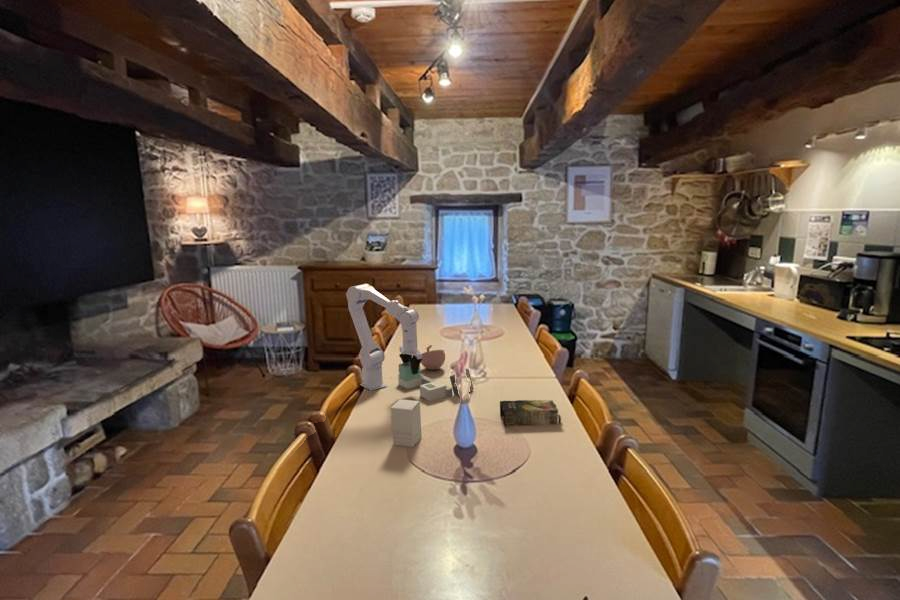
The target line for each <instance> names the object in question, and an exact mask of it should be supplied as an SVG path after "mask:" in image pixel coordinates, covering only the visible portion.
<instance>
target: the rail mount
mask: <svg viewBox="0 0 900 600" xmlns="http://www.w3.org/2000/svg"><path fill="white" fill-rule="evenodd" d="M420 374H421V377H420V378H417V379H414V380H410V381H407V382H405V381H403V380H401V379H400V377H399V374H397V380H398V381H397V382H398V386H400V387H402V388H405V389H406V390H409V389H413V388H416V387H419V396H420V397H421V398H423V399H425V400H426V401H428V402H432V401H435V400H439V399H442V398H445V397H447V398H449V397H452V396H453V388H452V387H450V386H448V385H446V384H444V383H442V382H441V381H440V382H439V381H437V380H435V379H433V378H431V377H428V376H425V375H424V374H422V373H420Z"/></svg>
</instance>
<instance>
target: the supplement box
mask: <svg viewBox="0 0 900 600" xmlns="http://www.w3.org/2000/svg"><path fill="white" fill-rule="evenodd" d="M390 415H391V416H390V417H391V431H392V432H391V435H392V445H396V446H404V447H410V448H414V447H415V444H416V445H417V443H419V441H420V440H421V439H420V438H422V437H423V436H422V419H421V416H422V415H421V401H420V400H413V399H412V400H411V399H401V398H400V399H399V400H398V401H396V402H395V403H394V404H393V405H392V406H391V407H390ZM419 439H420V440H419Z"/></svg>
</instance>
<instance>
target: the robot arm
mask: <svg viewBox="0 0 900 600" xmlns="http://www.w3.org/2000/svg"><path fill="white" fill-rule="evenodd" d="M345 296H346V300H347V305H348V311H349V314H350V316H351V319H352V322H353V325H354V328H355V331H356V333H357V336H358V339H359V342H360V344H361V348H360V351H359V356H360V364H361V366H362V368H361V381H362V382H361V383H360V386H362V387H363V388H365V389H366V388H367V389H366V390H368V389H369V390H368V391H375V390H379V389H383V388H385V387H387V386H388V385H387V384H385V383H383V382H384V381H383V366H382V365H383V362H384V360H385V358H386V355H385V352H384V351H383V350H382V349H381V346H380V344H378V343H377V342H375V340H374V337H373V334H372V331H371V328H370V326H369V323H368V320H367V317H366V315H365V311H364V309H363V308H364V305H365V304H366V302H367V301H368V300H370V301H372V302H374V303H376V304H378V305H379V306H381V307H384V308H385V310H386V313H388V314H389V315H390V316H392V317H394V318H395V319H397V320H398V322H399V324H400V325H401V330H402V346H399V352H400V354H399V355H398V356H399V358H400V359H401V361H402V363H406V362H410V364H411V369H412V374H413V375H414V374H418V369H419V365H420V366H421V361H422V359H423V357H422V353H421V352H420V350H419V349H418V335H417V334H418V332H417V331H418V329H417V322H418V321H419V319H420V318H419V317H420V316H419V312H417V310H416V309H415V308H409V307H408V306H405V305H403V304H402V303H400V301H399V300H396V299H392V300H390V299H389V298H387V297H385V296H384V295H383V294H382V293H380V292H379V291H377V290H376V289H375V287H374V286H372V285H370V284H369V283H362V284H359V285H354V286H353V285H352V286H350V287H349V288H348V289H347V291H346V293H345Z"/></svg>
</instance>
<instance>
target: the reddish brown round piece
mask: <svg viewBox="0 0 900 600" xmlns="http://www.w3.org/2000/svg"><path fill="white" fill-rule="evenodd" d="M432 346H433V345H432V344H430V345H429V346H427V347H426V351H424V352H423V353H422V357H423V359H422V361H421V363H420V365H422V366H423V367H424V368H425V369H427V370H431V371H435V370H438V369H440V368H441V367H442V366H443V365H444V363H445V361H446V353H445V350H443V349H434V350H433V349H432V350H430V349H431V348H432Z"/></svg>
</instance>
